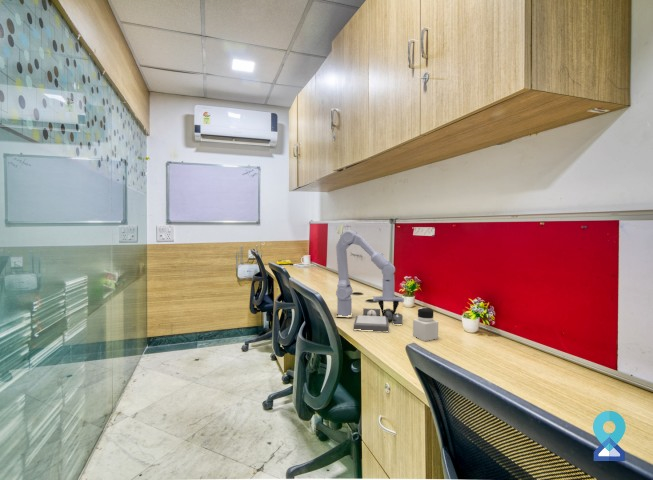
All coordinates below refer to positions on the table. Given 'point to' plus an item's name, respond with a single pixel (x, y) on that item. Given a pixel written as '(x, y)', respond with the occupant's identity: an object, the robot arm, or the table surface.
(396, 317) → the cylinder
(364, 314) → the scale
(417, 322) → the medicine bottle
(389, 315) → the weight
